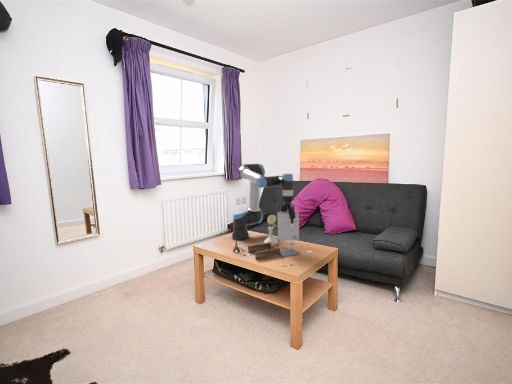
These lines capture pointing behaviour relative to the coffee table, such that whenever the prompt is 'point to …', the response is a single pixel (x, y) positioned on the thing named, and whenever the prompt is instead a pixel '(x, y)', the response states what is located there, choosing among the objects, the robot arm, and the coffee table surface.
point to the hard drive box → (287, 226)
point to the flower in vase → (271, 220)
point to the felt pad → (289, 252)
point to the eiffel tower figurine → (238, 248)
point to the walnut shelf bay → (264, 254)
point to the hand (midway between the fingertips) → (288, 226)
